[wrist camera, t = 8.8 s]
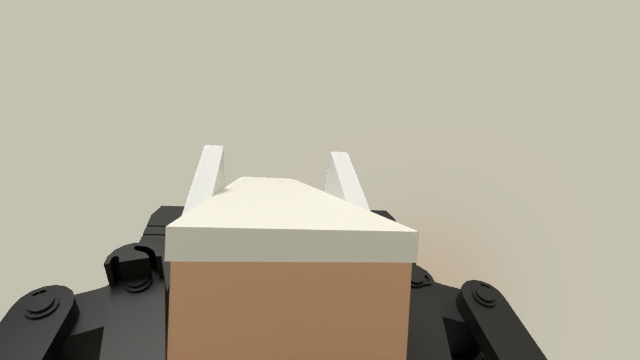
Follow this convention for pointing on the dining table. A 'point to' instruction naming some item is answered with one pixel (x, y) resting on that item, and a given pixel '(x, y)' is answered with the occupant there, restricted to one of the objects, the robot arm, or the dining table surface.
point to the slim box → (287, 277)
